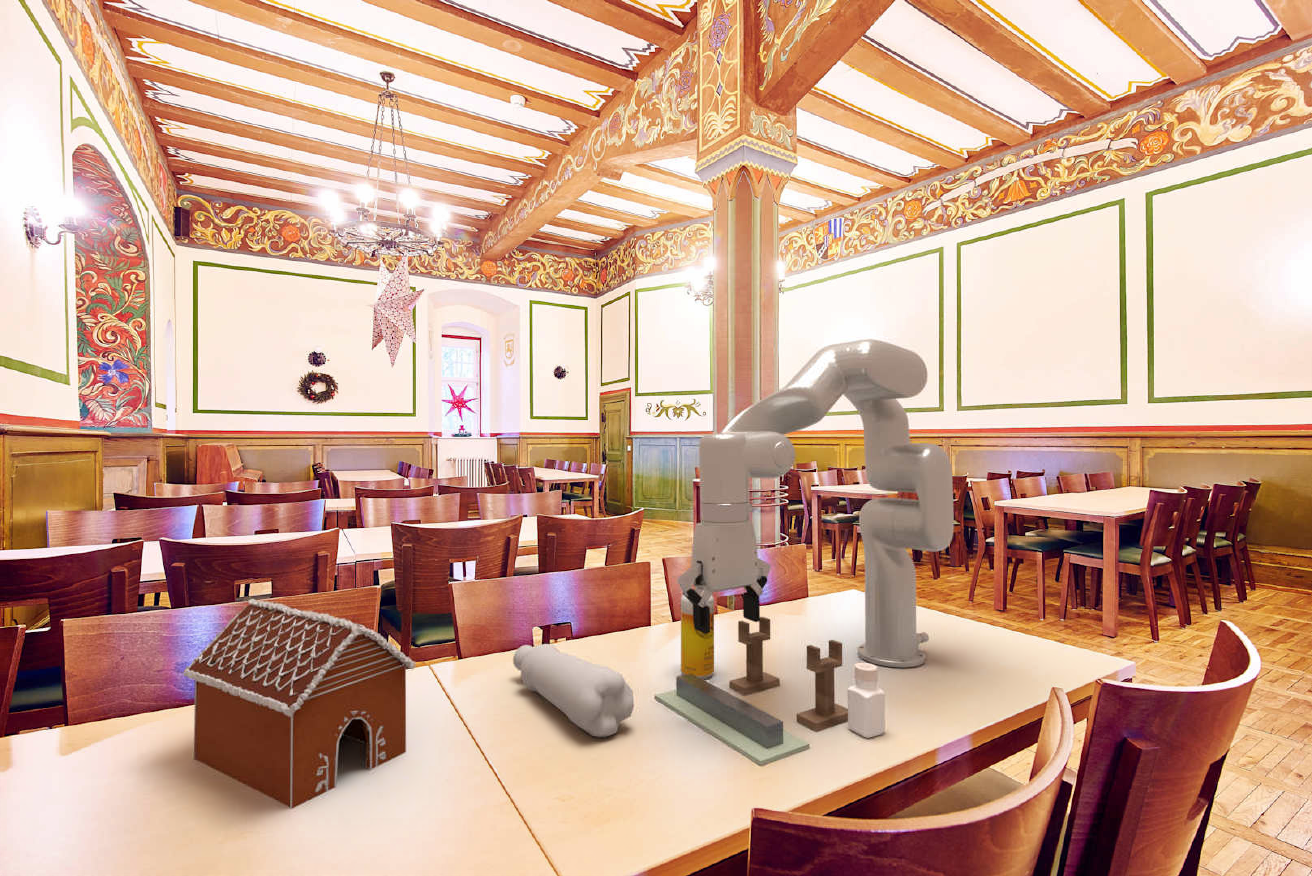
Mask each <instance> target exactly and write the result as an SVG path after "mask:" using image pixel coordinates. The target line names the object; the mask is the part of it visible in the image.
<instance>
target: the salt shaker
mask: <svg viewBox="0 0 1312 876" xmlns="http://www.w3.org/2000/svg"><path fill="white" fill-rule="evenodd" d="M854 679H855V680H854V682H855V683H854V684H852V685H851V686H850V687H848V688H847V709H848V721H847V727H848V729H849V730H850V731H852V732H854V733H856V734H858V735H859V736H861V737H863V738H870V739H871V738H872V737H877V736H879V735H883V734H884V733H885V731H886V701H885V700H886V694H885V692H884V691H883V690H882V689H881V688H880V687H878V667H877V665H876V664H874V663H870V662H858V663H855V664H854Z"/></svg>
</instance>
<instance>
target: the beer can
mask: <svg viewBox="0 0 1312 876" xmlns="http://www.w3.org/2000/svg"><path fill="white" fill-rule="evenodd" d="M703 591H704V590H703ZM702 593H703V592H702ZM701 595H702V594H701ZM706 606H709V608H710V632H709V633H707V634H705V633H702V632H700V631H698V630H695V628H694V624H693V604H692V603H690V602H689V600H688V599H687V598H686V597H685V596H684V595H683V594H682V596H681V597H680V672H681V673H682V674H683V675H686V674H690V673H691V674H693V675H695V676H697V677H699V678H701V679H703V680H707V679H710V678H711V677H712V674H714V672H715V599H714V595H711V597H710V598H709V600H708V602H707V604H706Z"/></svg>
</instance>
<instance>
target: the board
mask: <svg viewBox="0 0 1312 876" xmlns="http://www.w3.org/2000/svg"><path fill="white" fill-rule="evenodd" d="M654 699H655V701H658V702H659V703H660V704H663V705H664V706H665V707H667V708H668V709H670V710H672V711H674V712H675V713H677V714H678V715H680V716H681V717H683V718H684V719H686V720H687V721H689V722H691V723H693V724H694V725H696V726H697V727H699V728H700V729H702V730H704V731H705V732H706V733H708V734H710V735H711V736H713V737H715V738H716V739H718V740H719V741H721V742H722V743H724V744H726V745H727V746H729V747H730V748H732V749H733V750H736V751H737V752H738V753H740V754H742V755H743V756H745V757H746V758H748V759H750V760H751V761H752V762H754V763H755V764H757V765H758V766H765V765H767V764H770V763H772V762H775V761H777V760H781V759H783V758H786V757H789V756H791V755H794V754H797V753H800V752H803V751H805V750H806V751H807V750H808V749H811V744H810V742H808V741H806V740H804V739H802V738H800V737H798V736H796V735H794V734H792V733H791V732H789V731H788V730H785V729H783V744H781V745H778V746H775V747H772V748H769V749H766V748H764V747H763V746H761V745H759V744H758V743H756V742H754V741H753V740H751V739H749V738H748V737H746V736H744V735H743V734H741V733H739V732H738V731H736V730H734V729H733V728H731V727H729V726H728V725H726V724H724V723H722V722H721V721H719V720H717V719H716V718H714V717H712V716H711V715H709V714H707V713H706V712H704V711H702V710H701V709H699V708H697V707H696V706H694V705H692V704H691V703H689V702H687V701H686V700H684V699H682V698H681V697H679V696H677V695H676V689H672V690H668V691H664V692H661V693H657V694H654Z"/></svg>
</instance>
